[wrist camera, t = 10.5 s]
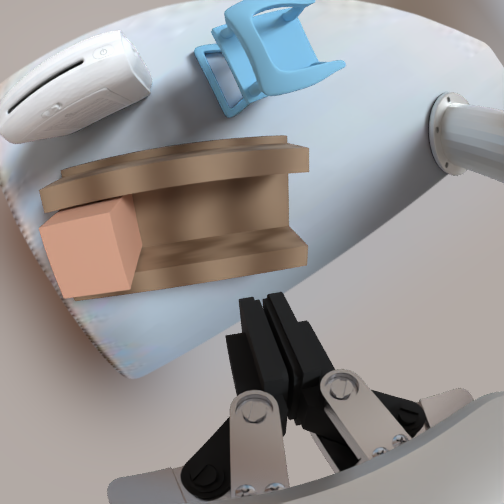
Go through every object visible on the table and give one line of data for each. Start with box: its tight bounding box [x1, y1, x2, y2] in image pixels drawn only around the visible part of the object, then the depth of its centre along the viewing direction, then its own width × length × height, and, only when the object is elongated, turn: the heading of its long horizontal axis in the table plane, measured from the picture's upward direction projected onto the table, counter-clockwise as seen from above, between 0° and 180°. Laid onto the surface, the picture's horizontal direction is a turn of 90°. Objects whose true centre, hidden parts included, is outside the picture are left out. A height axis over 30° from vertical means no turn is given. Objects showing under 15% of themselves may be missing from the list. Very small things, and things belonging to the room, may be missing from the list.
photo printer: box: [0, 30, 152, 144], centre depth 15 cm, size 10×4×12 cm, turn 106°
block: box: [39, 194, 142, 298], centre depth 21 cm, size 6×6×8 cm
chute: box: [39, 135, 309, 301], centre depth 24 cm, size 22×12×6 cm, turn 93°
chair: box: [194, 0, 346, 118], centre depth 17 cm, size 8×8×12 cm
